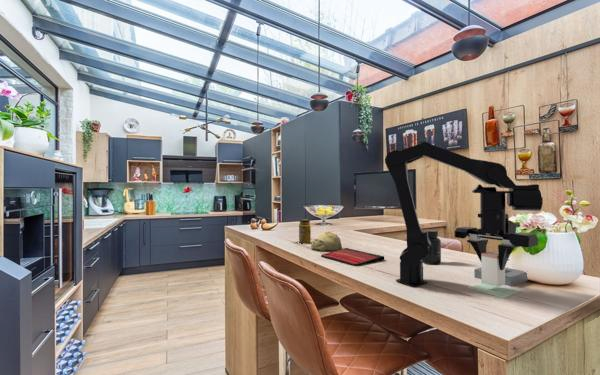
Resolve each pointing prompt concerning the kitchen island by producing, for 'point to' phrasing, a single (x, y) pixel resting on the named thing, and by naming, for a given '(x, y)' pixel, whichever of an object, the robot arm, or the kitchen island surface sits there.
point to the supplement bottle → (433, 249)
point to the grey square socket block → (508, 276)
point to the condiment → (304, 232)
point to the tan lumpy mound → (327, 242)
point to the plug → (491, 269)
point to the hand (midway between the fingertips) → (493, 268)
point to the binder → (352, 257)
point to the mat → (494, 290)
